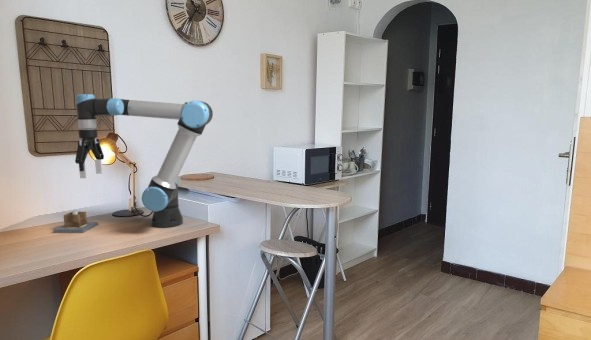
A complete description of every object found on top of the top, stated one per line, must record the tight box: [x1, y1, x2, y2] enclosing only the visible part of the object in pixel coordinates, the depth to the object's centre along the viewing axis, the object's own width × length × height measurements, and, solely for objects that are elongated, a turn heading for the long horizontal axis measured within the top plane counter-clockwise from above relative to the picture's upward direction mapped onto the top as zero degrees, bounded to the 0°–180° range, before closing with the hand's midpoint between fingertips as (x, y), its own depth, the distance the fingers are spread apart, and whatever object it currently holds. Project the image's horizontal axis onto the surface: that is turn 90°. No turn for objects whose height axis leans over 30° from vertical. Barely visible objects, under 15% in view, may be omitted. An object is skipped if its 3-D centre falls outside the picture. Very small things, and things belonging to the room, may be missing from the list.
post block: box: [53, 210, 99, 234], centre depth 207 cm, size 14×14×8 cm
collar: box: [63, 211, 88, 228], centre depth 207 cm, size 7×7×6 cm
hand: (91, 175), depth 197 cm, fingers open, 13 cm apart
